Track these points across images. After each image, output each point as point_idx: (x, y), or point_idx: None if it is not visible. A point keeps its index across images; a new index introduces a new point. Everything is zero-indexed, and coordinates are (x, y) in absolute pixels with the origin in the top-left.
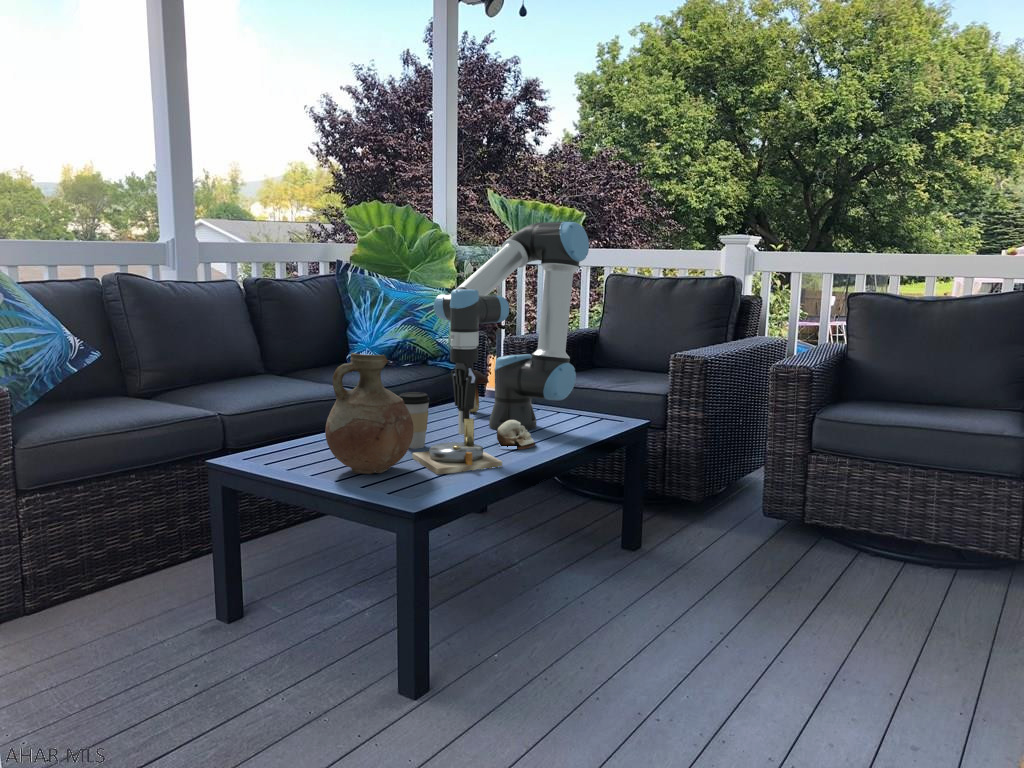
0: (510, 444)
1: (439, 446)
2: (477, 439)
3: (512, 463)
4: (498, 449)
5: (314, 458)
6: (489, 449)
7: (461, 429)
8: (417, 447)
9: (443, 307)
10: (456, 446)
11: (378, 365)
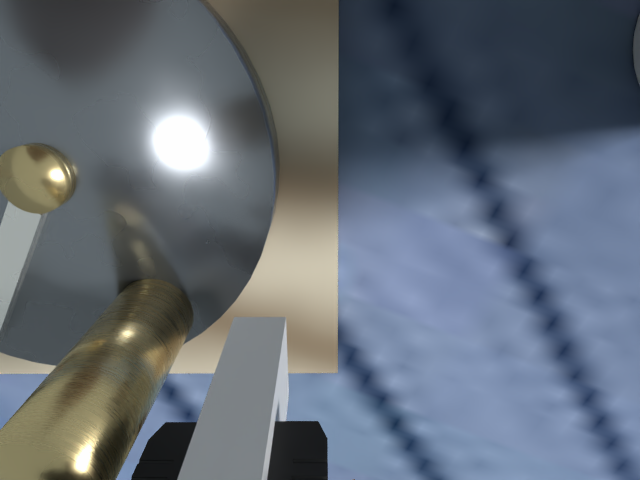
0: None
1: (153, 58)
2: (613, 472)
3: None
4: (335, 475)
5: None
6: (356, 440)
7: (226, 355)
8: (637, 30)
9: None
10: (22, 177)
11: None
